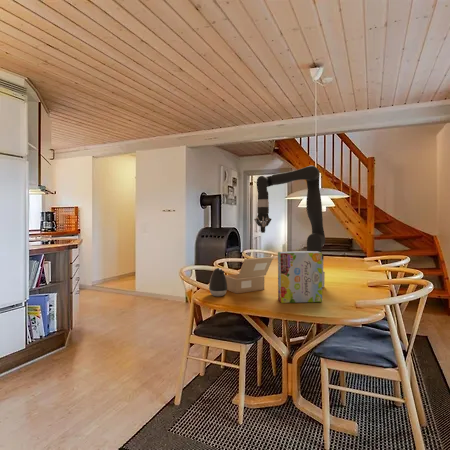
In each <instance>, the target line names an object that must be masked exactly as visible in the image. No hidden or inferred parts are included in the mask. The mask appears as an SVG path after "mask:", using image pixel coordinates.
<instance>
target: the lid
mask: <svg viewBox="0 0 450 450" xmlns="http://www.w3.org/2000/svg"><path fill="white" fill-rule="evenodd" d="M273 259H274V257H273V256H268V257H267V256H266V257H256V258H255V257H254V258H244V259H243V262H242V264H241V267H240V270H239V272H238V274H239V275H238V277H237V278H238V279H239V278H248V277H257V276H264V277H266V275H267V273H268V270H269V269H270V267H271V265H272V262H273Z"/></svg>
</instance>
